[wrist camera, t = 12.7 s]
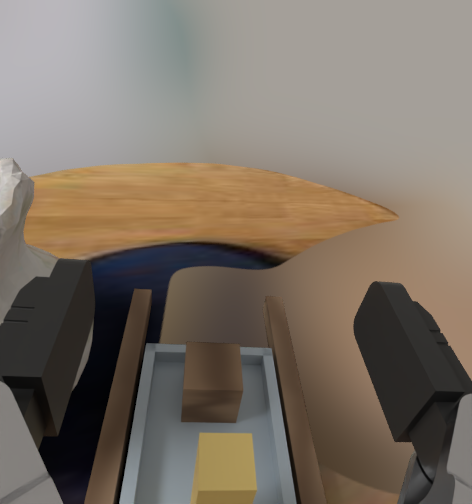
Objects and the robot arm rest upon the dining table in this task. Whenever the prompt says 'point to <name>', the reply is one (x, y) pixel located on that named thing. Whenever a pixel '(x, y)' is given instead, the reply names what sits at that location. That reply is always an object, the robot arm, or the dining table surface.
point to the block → (212, 383)
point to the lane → (124, 392)
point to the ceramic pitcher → (21, 243)
